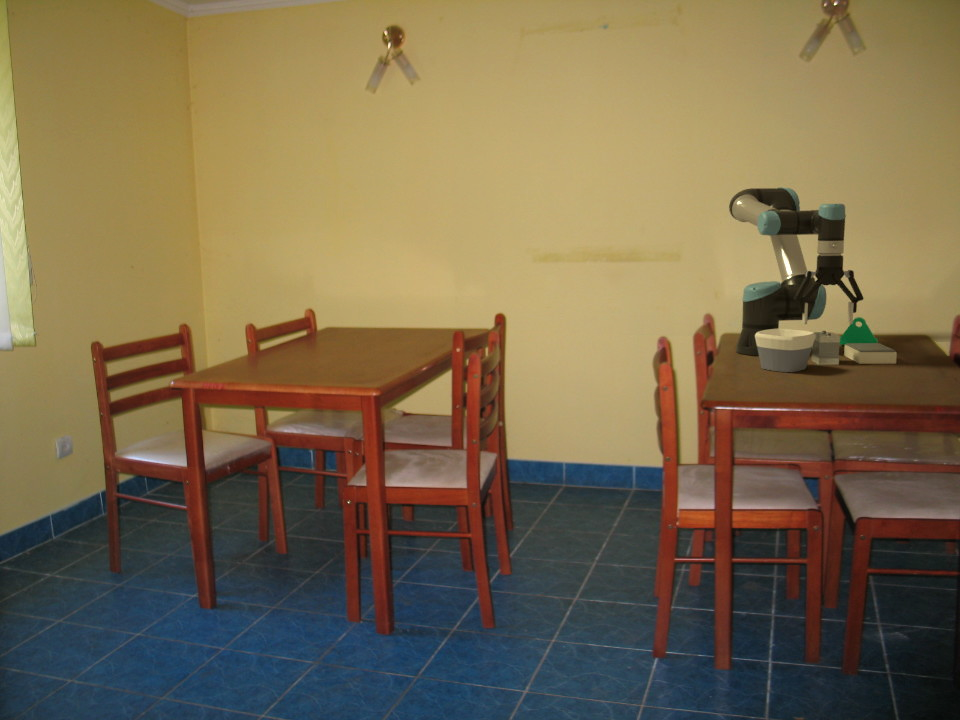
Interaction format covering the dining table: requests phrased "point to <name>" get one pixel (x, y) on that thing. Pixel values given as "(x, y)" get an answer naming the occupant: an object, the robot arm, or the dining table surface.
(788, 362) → the bowl
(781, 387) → the dining table surface
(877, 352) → the plinth
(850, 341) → the camera mount
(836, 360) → the housing
